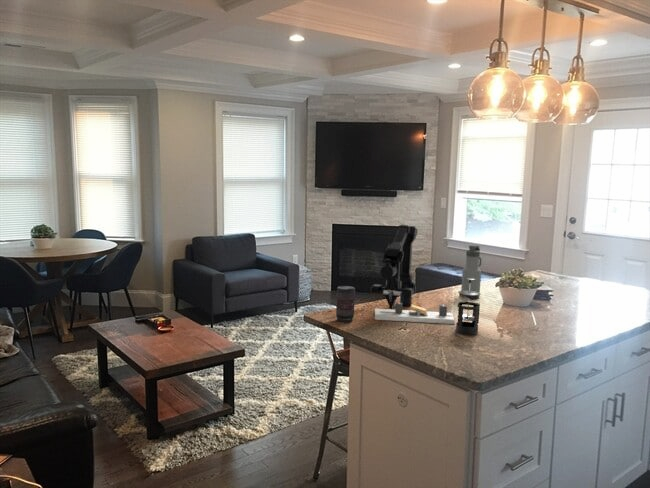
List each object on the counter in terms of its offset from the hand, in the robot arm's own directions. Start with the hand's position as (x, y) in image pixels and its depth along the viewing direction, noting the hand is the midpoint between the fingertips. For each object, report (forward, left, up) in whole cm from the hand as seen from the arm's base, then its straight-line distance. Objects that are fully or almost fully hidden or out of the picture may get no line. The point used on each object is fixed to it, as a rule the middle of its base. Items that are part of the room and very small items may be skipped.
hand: (391, 308), depth 249 cm
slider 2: (0, +23, -1) cm, 23 cm away
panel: (0, +10, -4) cm, 11 cm away
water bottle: (-52, +44, -4) cm, 68 cm away
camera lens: (+11, -20, -4) cm, 23 cm away
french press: (+17, +32, -4) cm, 36 cm away
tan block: (0, +12, 0) cm, 12 cm away
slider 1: (0, +3, -1) cm, 4 cm away
